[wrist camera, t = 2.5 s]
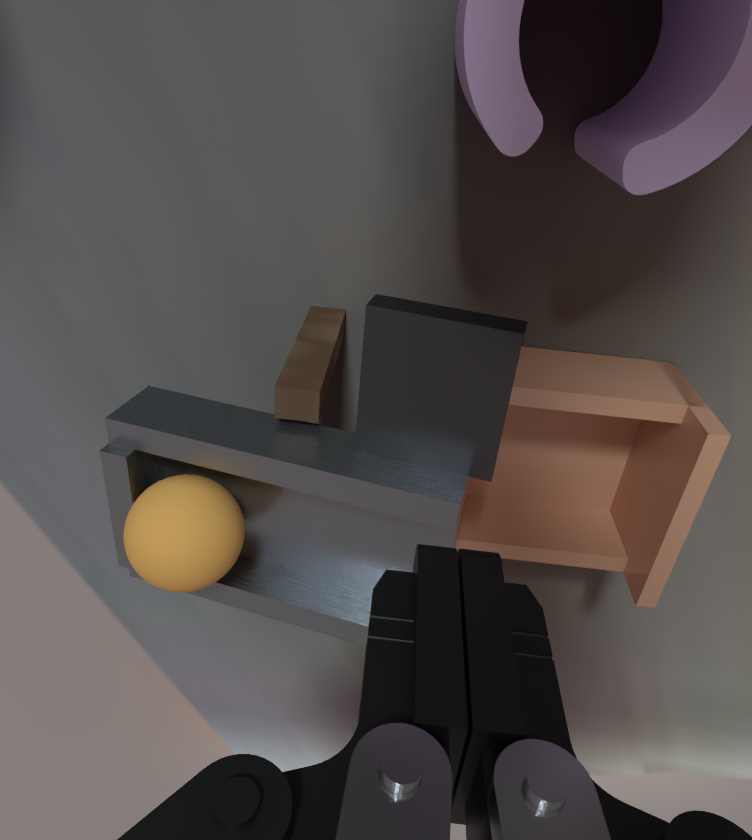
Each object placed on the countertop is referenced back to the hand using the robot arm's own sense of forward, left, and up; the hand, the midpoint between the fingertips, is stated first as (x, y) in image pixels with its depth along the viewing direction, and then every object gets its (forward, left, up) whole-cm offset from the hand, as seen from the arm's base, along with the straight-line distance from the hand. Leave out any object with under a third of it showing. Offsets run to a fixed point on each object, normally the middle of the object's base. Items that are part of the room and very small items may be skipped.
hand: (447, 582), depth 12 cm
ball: (+7, -8, -8) cm, 13 cm away
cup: (+7, +6, -17) cm, 19 cm away
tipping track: (+4, -4, -10) cm, 11 cm away
